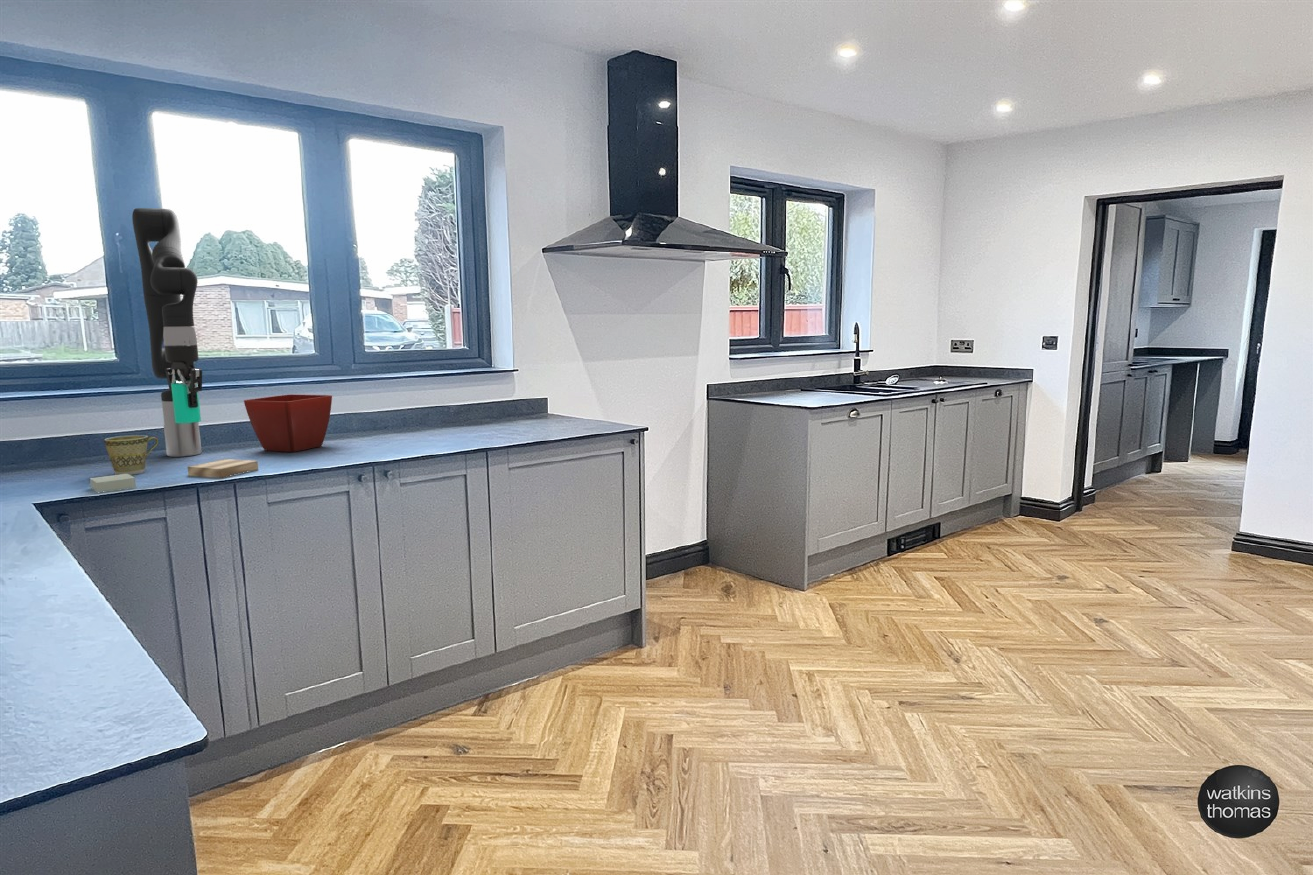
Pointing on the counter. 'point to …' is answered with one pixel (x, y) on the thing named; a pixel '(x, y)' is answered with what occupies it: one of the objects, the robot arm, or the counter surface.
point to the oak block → (222, 468)
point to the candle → (183, 405)
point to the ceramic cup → (128, 453)
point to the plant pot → (290, 421)
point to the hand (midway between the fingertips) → (187, 406)
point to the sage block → (112, 482)
